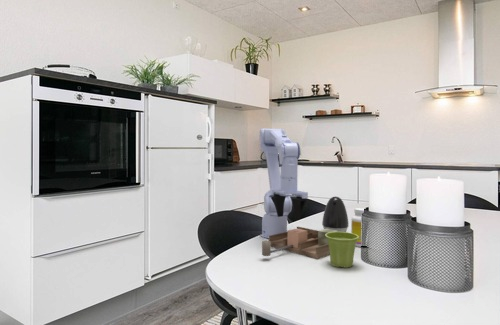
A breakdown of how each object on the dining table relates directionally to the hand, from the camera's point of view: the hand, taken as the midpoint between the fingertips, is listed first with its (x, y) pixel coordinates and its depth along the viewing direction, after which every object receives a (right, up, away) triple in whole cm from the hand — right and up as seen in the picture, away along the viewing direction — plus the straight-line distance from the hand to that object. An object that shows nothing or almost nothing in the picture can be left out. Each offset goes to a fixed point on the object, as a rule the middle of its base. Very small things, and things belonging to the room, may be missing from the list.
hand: (288, 217), depth 118 cm
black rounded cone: (+21, -10, +21) cm, 31 cm away
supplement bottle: (+26, -11, +5) cm, 29 cm away
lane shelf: (+6, -10, +1) cm, 12 cm away
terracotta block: (-2, -9, -7) cm, 12 cm away
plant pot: (+14, -11, -17) cm, 24 cm away
